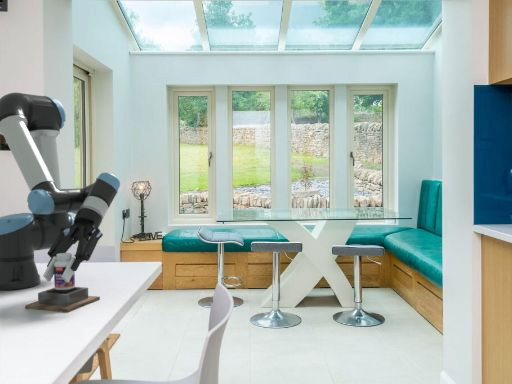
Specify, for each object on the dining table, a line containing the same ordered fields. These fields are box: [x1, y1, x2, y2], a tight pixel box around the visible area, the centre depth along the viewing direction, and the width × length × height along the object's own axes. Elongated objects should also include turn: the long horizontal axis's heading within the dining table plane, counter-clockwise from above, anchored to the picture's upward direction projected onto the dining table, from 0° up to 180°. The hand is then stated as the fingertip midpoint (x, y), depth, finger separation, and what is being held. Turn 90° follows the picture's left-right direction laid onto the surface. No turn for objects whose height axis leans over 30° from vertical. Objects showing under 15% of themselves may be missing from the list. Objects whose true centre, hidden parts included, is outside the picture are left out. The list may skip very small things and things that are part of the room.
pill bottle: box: [53, 252, 76, 290], centre depth 140 cm, size 5×5×10 cm
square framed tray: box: [25, 286, 101, 313], centre depth 141 cm, size 14×14×4 cm
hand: (55, 279), depth 137 cm, fingers closed on pill bottle, 5 cm apart
